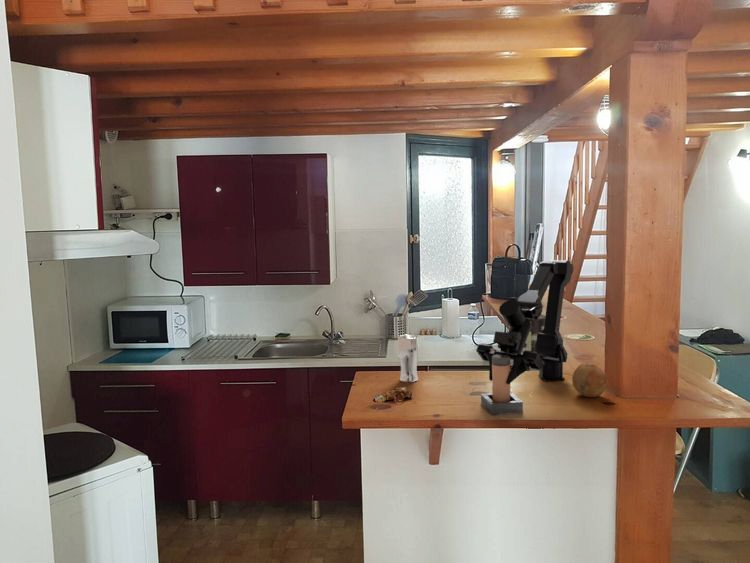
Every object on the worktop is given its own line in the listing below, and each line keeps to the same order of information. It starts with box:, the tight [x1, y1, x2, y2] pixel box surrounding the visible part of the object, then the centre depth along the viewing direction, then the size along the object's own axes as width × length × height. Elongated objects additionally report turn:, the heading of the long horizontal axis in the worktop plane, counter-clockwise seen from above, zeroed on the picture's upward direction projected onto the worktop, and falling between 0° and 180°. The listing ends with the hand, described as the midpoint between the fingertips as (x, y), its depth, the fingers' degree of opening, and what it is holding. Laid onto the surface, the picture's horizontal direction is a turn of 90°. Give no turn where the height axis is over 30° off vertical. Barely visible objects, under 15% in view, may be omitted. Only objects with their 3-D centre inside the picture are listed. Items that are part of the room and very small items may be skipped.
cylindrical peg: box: [491, 355, 511, 403], centre depth 158 cm, size 5×5×15 cm
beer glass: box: [397, 333, 420, 383], centre depth 187 cm, size 7×7×15 cm
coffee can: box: [521, 314, 546, 354], centre depth 217 cm, size 10×10×14 cm
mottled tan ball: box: [571, 362, 608, 398], centre depth 165 cm, size 10×10×10 cm
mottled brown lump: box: [374, 386, 414, 402], centre depth 170 cm, size 7×12×4 cm, turn 112°
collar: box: [480, 391, 524, 416], centre depth 159 cm, size 9×9×3 cm
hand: (498, 381), depth 157 cm, fingers closed on cylindrical peg, 5 cm apart
